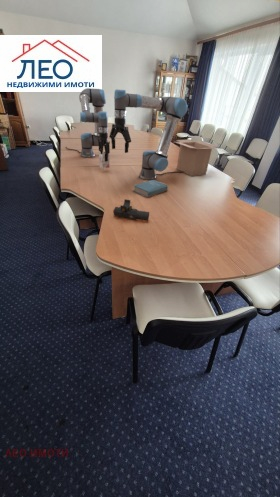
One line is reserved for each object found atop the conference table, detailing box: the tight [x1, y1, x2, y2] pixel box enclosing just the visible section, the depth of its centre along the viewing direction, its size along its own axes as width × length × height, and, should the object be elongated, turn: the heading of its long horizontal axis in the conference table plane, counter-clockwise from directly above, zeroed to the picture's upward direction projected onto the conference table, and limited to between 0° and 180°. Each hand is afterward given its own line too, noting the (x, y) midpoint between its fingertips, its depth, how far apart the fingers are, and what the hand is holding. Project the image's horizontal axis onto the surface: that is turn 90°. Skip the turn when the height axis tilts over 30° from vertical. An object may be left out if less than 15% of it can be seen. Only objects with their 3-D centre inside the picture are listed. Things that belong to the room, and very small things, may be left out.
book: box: [133, 179, 169, 198], centre depth 177 cm, size 23×16×5 cm
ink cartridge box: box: [98, 151, 110, 170], centre depth 205 cm, size 9×5×15 cm, turn 138°
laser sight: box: [112, 199, 150, 222], centre depth 138 cm, size 10×22×10 cm, turn 78°
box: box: [174, 139, 220, 177], centre depth 220 cm, size 44×36×27 cm
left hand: (104, 160), depth 205 cm, fingers closed on ink cartridge box, 5 cm apart
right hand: (119, 150), depth 163 cm, fingers open, 13 cm apart
